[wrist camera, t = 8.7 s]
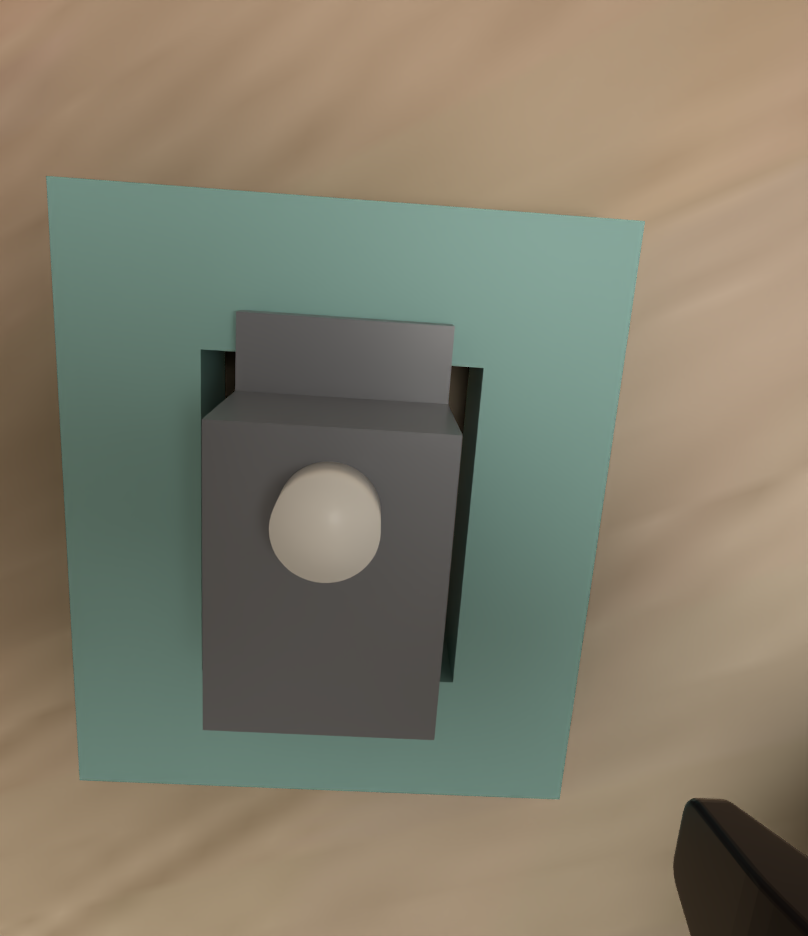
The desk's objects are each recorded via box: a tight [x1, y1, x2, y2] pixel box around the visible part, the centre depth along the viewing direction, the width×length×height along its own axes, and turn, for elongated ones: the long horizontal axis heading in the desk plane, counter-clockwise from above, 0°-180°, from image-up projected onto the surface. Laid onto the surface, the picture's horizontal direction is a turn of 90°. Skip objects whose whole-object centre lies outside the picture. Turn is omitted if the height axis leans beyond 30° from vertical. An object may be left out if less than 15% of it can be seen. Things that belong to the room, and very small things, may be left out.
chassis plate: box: [46, 176, 645, 799], centre depth 18 cm, size 14×12×2 cm
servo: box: [202, 310, 463, 740], centre depth 16 cm, size 9×4×7 cm, turn 176°
